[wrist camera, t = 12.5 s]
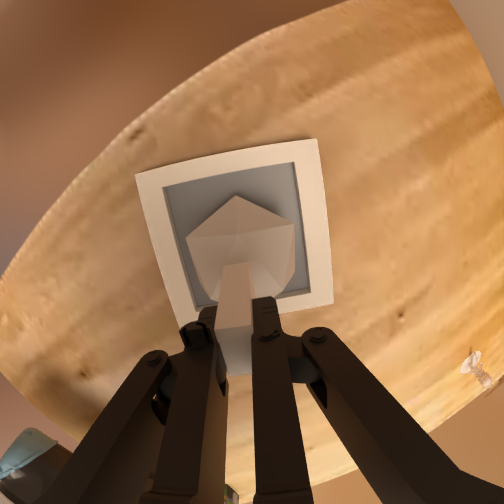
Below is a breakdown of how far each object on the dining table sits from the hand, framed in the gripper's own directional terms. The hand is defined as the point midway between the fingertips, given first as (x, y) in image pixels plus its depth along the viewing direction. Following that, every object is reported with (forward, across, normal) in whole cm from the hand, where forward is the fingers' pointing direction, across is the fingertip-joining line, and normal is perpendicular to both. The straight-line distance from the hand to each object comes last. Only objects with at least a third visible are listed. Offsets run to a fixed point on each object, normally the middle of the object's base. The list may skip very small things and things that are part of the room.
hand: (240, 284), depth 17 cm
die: (+10, 0, 0) cm, 10 cm away
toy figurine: (+11, +35, -29) cm, 46 cm away
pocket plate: (+10, 0, 0) cm, 10 cm away
